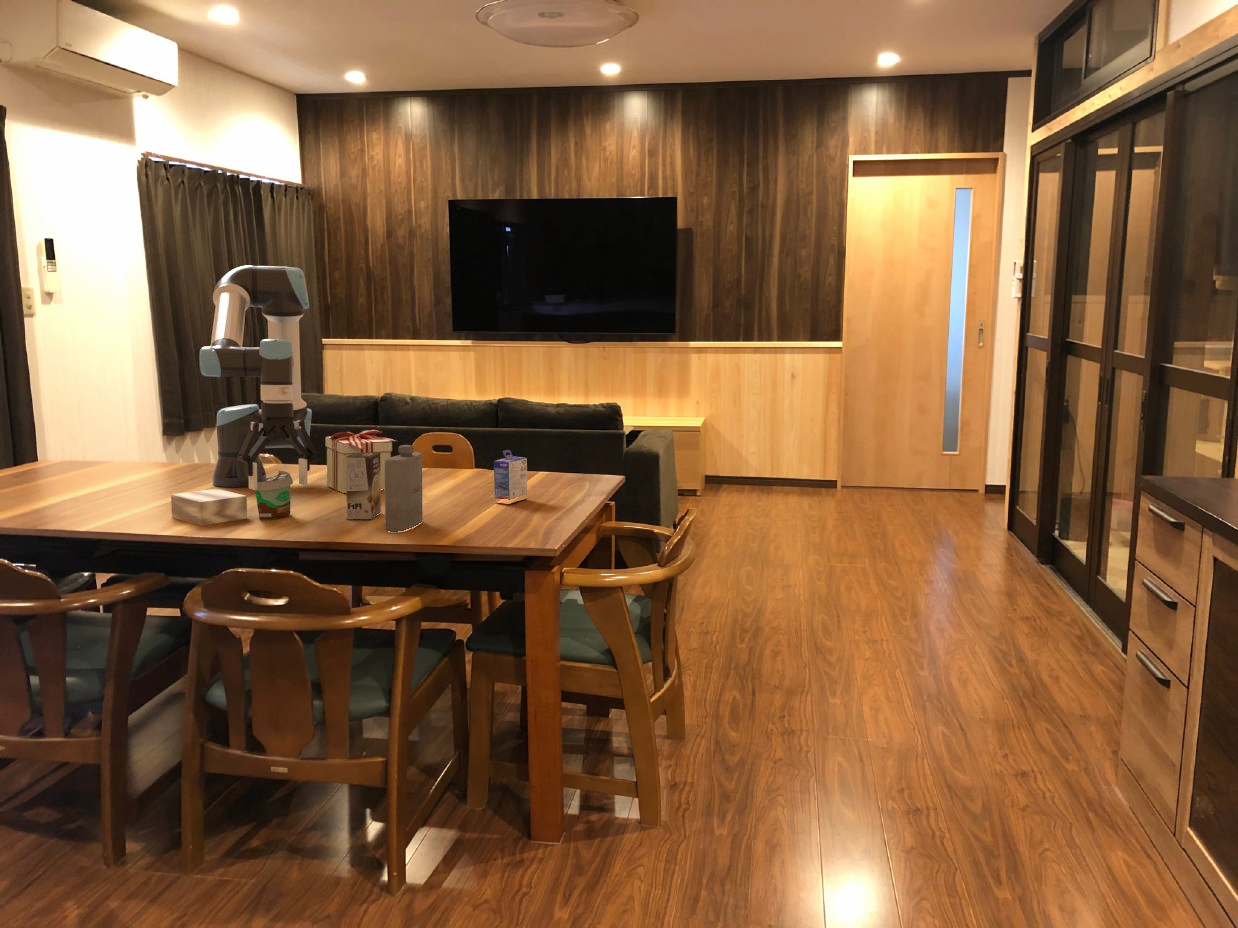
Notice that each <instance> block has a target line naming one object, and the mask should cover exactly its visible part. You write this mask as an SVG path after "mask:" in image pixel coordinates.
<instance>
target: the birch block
mask: <svg viewBox="0 0 1238 928" xmlns="http://www.w3.org/2000/svg"><path fill="white" fill-rule="evenodd" d="M247 497H248V496H247V495H244V494H239V493H236V492H232V491H227V490H226V489H220V488H213V489H212V488H211V489H204V490H203V489H202V490H196V491H187V492H182V493H181V492H180V493H171V494H170V499H171V500H170V503H171V507H170V508H171V517H172V518H174V519H178V520H180V519H181V521H184V520H185V522H188V523H191V524H195V525H198V526H207V525H213V523H214V524H219V523H226V522H231V521H237V520H239V521H240V520H244V519H247V518H248V501H247Z"/></svg>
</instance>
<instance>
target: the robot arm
mask: <svg viewBox="0 0 1238 928" xmlns="http://www.w3.org/2000/svg"><path fill="white" fill-rule="evenodd" d="M308 295H309V294H308V289H307V283H306V277H305V274H304V271H303V270H302V269H301V268H299V267H293V266H285V265H284V266H283V265H282V266H278V265H277V266H276V265H275V266H272V265H251V264H249V265H242V266H239V267H236V268H233V269H231V270H230V271H228V272H227V273H226V274H224V275H223V276H222V277H221V278H220V280H218V282H217V283H216V284H215V287H214V288H213V294H212V301H213V302H212V303H213V304H214V306H215V309H214V316H213V325H212V332H211V340H210V345H208V346H203V347H201V348H200V349H199V370H200V373H201V374H202V376H204V377H216V378H226V377H227V378H233V377H234V378H236V377H237V378H238V377H239V378H242V377H243V378H244V377H245V378H246V377H247V378H260V400H261V401H262V402H261V404H260V407H259V405H258V404H256V403H255V404H254V403H253V404H242V405H235V406H228V407H224V408H221V409H220V410H218V411H217V414H216V424H215V426H216V433H217V434H216V436H217V461H216V464H215V467H214V471H213V474H212V485H213V486H217V487H225V488H226V487H227V488H238V487H239V488H242V487H243V488H244V487H248V489H249V490H257V482H263V481H264V480H265V479H267V478H268V477H267V476H268V475H267V473H266V470H265V467H264V464H263V462H262V459H261V453H262V451H263V450H264V449H272V448H273V449H277V448H279V449H280V448H282V449H283V448H286V449H287V448H290V449H294V450H295V451H296V452H297V454H298V455H299V456H300V457H299V458H298V484H299V485H305V486H306V485H308V472H309V471H310V470H311V465H310V464H311V459H313V457H315V456H317V455H318V451H317V449H316V448H315V445H314V444H313V442H312V439H311V438H310V433H311V425H312V414H313V413H312V412H313V411H312V409H310V408H308V407H307V406H308V405H307V402H306V401H305V400H304V399H302V385H301V384H302V381H301V352H300V350H301V349H300V319H301V318H303V316H304V315H305V310H307V309H309V308H310V302H309V297H308ZM250 307H252V308H261V314H262V316H263V317H265V318H266V320H267V330H268V331H267V334H268V336H267V337H268V338H266V339H265V338H264V339H261V340H260V342H259V343H260V344H259V347H258V346H257V347H255V346H254V347H253V346H251V347H248V346H243V342H244V332H245V331H244V329H245V317H246V311H247V310H248V309H249V308H250Z"/></svg>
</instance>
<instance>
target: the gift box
mask: <svg viewBox="0 0 1238 928" xmlns="http://www.w3.org/2000/svg"><path fill="white" fill-rule="evenodd" d="M376 434H383V431H382V430H381V431H380V430H376V429H370V430H362V431H361V432H359V433H357V434H356V433H353V432H350V431H341V432H336V433H334V434H332V436H326V437H325V441H324V442H325V448H326V485H327V486H328V487H329V488H332V489H333V490H335V491H337V492H339V491H340V493H341V492H342V494H343V493H347V490H346V456H349V455H352V454H354V453H357V452H363V453H364V452H374V453H380V467H381V489H385V463H384V460H385V459H386V458H390V457H392V455H391V454H392V453H391V452H393V442H397V440H395V439H393V438H388V437H384V436H378V435H376Z"/></svg>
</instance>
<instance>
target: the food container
mask: <svg viewBox="0 0 1238 928" xmlns="http://www.w3.org/2000/svg"><path fill="white" fill-rule="evenodd" d="M293 483H294V480H293V477H292V475H291V473H290V472H288V471H284V470H278V474H276V475H273V476H272V477H271V476H269V477H267V479H265V480H264V481H263V482H257V490H253V489H252V490H253V491H255V499H256V505H257V510H258V511H257V512H258V516H259V517H258V518H259V520H261V521H262V520H263V521H264V520H265V521H267V520H268V521H271V520H278V519H283V518H285V517H288V516H290V514H291V485H293Z"/></svg>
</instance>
